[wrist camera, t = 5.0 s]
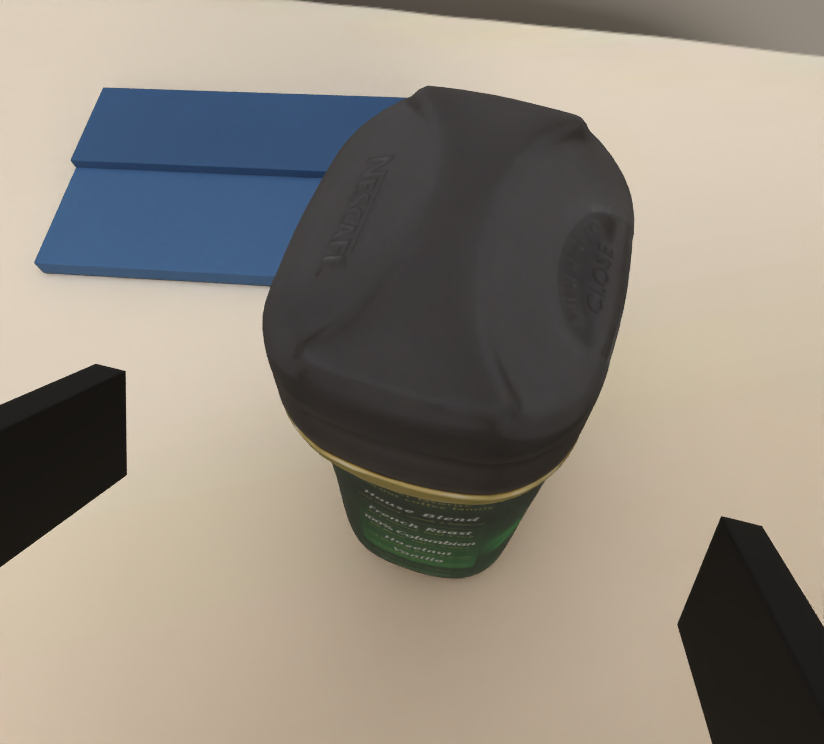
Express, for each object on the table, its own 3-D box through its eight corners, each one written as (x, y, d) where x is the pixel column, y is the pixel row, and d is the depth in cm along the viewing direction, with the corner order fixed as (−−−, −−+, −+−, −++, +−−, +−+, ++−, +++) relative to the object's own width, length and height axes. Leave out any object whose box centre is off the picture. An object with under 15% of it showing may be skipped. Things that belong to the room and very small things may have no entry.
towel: (499, 116, 39) (501, 96, 37) (492, 299, 33) (494, 282, 31) (116, 103, 40) (104, 82, 39) (43, 273, 34) (26, 256, 33)
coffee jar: (500, 601, 26) (619, 503, 9) (331, 547, 27) (164, 374, 10) (545, 404, 30) (686, 83, 13) (395, 365, 31) (349, 26, 14)
